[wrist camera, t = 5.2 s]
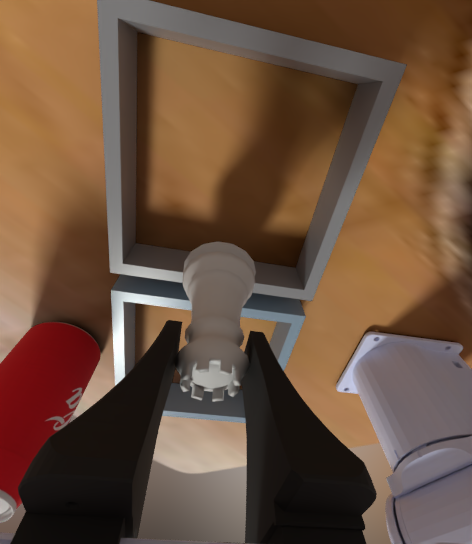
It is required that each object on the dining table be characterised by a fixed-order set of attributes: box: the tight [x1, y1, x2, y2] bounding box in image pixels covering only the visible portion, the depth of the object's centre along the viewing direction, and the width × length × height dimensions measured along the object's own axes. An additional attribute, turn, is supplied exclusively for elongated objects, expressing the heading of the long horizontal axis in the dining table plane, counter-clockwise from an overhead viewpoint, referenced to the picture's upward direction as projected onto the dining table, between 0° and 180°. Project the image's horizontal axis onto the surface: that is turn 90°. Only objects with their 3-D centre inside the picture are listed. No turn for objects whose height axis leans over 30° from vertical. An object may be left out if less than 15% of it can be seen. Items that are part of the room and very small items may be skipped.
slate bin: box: [111, 274, 306, 423], centre depth 25 cm, size 14×14×3 cm
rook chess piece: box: [175, 242, 256, 402], centre depth 15 cm, size 4×4×8 cm
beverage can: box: [0, 322, 100, 523], centre depth 20 cm, size 6×6×12 cm
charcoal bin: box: [97, 0, 407, 301], centre depth 17 cm, size 14×14×3 cm
